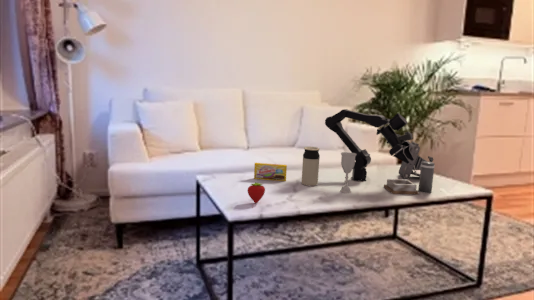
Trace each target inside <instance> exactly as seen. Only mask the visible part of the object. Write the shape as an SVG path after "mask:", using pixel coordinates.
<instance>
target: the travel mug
mask: <svg viewBox="0 0 534 300" xmlns="http://www.w3.org/2000/svg"><path fill="white" fill-rule="evenodd" d="M303 149H304V152H303V155H302V169H301V184H302V185H303V186H306V187H307V186H308V187H315V186H317V185H319V169H320V154H319V151H320V148H319V147H317V146H305V147H304V148H303Z"/></svg>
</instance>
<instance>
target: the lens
mask: <svg viewBox="0 0 534 300" xmlns="http://www.w3.org/2000/svg"><path fill="white" fill-rule="evenodd" d="M435 166H436V165H435V162H434V161H432V162H428V161H427V162H421V170H419V171H420V173H419V174H420V177H419V178H418V179H419V180H418V190H417V191H418V192H419V193H427V194H431V193H432V190H433V184H434V183H433V182H434V174H435V173H434V172H435Z"/></svg>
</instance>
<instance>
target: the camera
mask: <svg viewBox="0 0 534 300" xmlns="http://www.w3.org/2000/svg"><path fill="white" fill-rule="evenodd" d="M410 145H411V146H410V151H411V154H412V156H413V158H414V160H413V161H412V160H410V159H408V158H407V159H408V160H409V163H408V164H407V163H405V162H403V161H402V160H401V164H400V167H399V170H398V175H400V176H401V178H402V179H403V180H409V179H410V177H411V175H412V176H416V177H419V178H420V173H418V172H417V171H420V170H421V162H434V157H432V156H429V155H428V156H427V159H428V161H427V160H426V159H424V158H423V157H421V156H420V155H419V153H420V150H421V148H420V145H419V143H418V142H415V141H414V140H413V141H412V140H411V142H410Z"/></svg>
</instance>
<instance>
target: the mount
mask: <svg viewBox="0 0 534 300" xmlns="http://www.w3.org/2000/svg"><path fill="white" fill-rule="evenodd" d="M383 187H384V188H385V190H387V191H389V193H391V194H392V195H419V194H420V191H418V190H417V184H416V183H414V182H412V180H411V181H410V179H403V178H402V179H394V178H393V179H392V178H387V179H386V184H385V183H384V184H383Z"/></svg>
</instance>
